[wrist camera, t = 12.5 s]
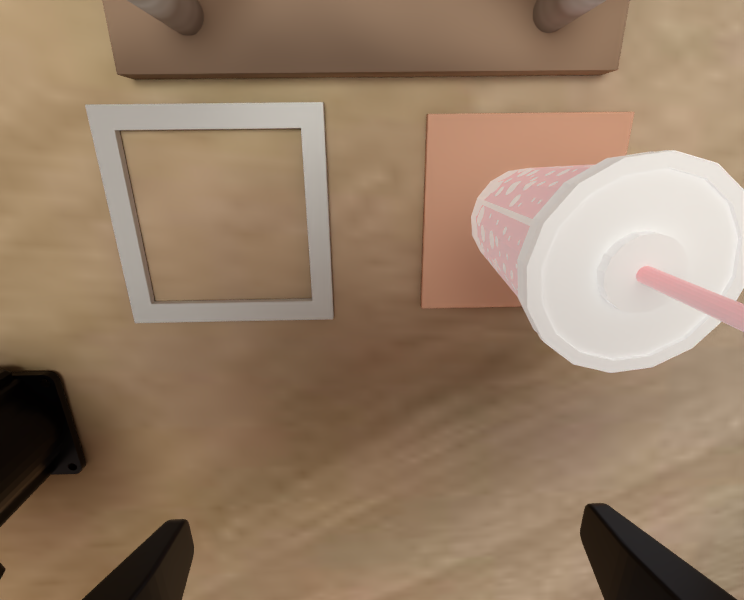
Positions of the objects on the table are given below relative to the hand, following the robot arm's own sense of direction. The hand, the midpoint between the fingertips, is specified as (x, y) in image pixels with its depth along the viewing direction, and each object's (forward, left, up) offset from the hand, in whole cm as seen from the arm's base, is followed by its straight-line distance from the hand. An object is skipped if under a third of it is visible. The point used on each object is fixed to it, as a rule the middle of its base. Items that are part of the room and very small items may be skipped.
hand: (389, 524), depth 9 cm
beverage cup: (+5, -7, -13) cm, 15 cm away
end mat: (+5, -7, -13) cm, 15 cm away
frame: (+5, +7, -13) cm, 15 cm away
